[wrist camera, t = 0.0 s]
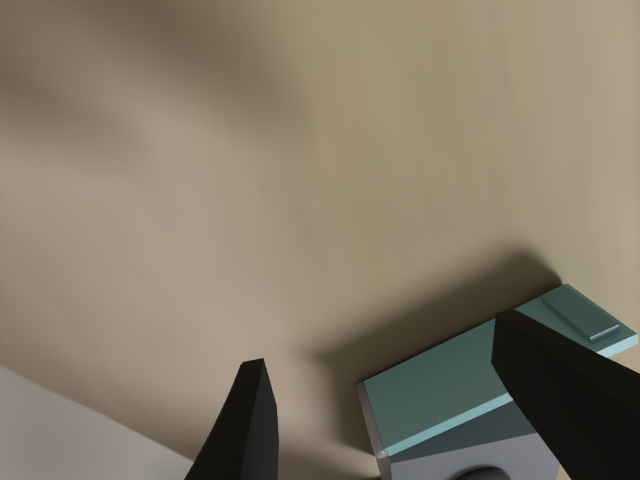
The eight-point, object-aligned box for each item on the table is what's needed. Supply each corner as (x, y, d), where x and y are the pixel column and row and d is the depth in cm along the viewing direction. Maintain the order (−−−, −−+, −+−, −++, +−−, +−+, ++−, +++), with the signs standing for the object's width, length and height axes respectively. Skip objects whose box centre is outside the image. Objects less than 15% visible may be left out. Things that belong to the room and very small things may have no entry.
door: (569, 291, 24) (638, 343, 19) (359, 392, 25) (378, 461, 21) (565, 276, 23) (636, 326, 19) (351, 380, 25) (368, 448, 20)
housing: (504, 430, 30) (556, 510, 24) (375, 457, 29) (399, 546, 24) (513, 359, 26) (577, 435, 21) (368, 388, 26) (393, 474, 20)
